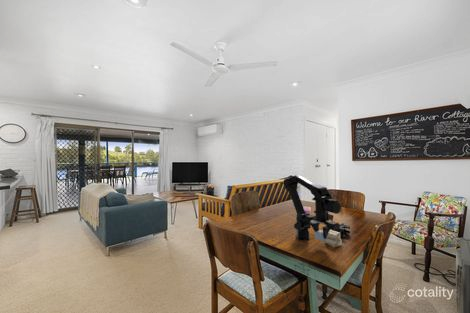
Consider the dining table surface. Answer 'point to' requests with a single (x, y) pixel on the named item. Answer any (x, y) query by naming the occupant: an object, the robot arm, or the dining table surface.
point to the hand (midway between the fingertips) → (321, 237)
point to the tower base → (334, 242)
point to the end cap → (343, 231)
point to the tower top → (333, 235)
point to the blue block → (320, 236)
